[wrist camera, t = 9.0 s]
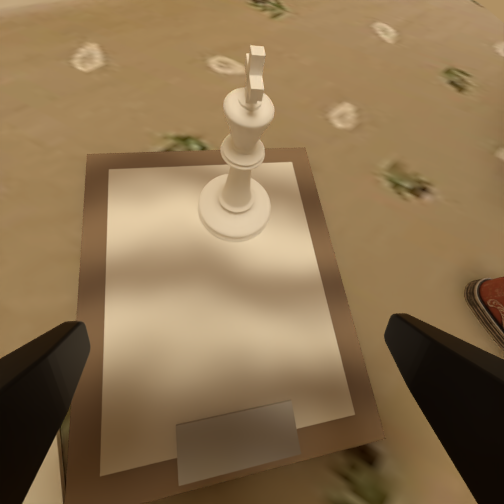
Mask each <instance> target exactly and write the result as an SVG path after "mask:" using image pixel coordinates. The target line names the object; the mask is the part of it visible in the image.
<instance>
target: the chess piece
mask: <svg viewBox="0 0 504 504" xmlns="http://www.w3.org/2000/svg"><path fill="white" fill-rule="evenodd" d="M264 61H265V50H264V46H252V45H250V52H249V53H246V59H245V72H246V86H245V87H244V88H238V89H235V90H233V91H232V92H230V93H229V94H228V95H227V96H226V98H225V100H224V104H223V109H224V114H225V118H226V121H227V123H228V125H229V128H230V133H231V134H229V135H227V136H226V137H225V139H224V140H223V142H222V145H221V149H220V151H221V156H222V158H223V159H224V161H225V162H226V163H227V164H228V165H230V170H229V174H224V175H221V176H218V177H216V178H214V179H212V180H211V181H210V182H208V183H207V184H206V185H205V187H204V188H203V190H202V192H201V194H200V197H199V202H198V214H199V217H200V220H201V222H202V224H203V225H204V227H205V228H206V229H207V230H208V231H209V232H210V233H211V234H213V235H214V236H216V237H218V238H220V239H222V240H225V241H230V242H241V241H246V240H250V239H252V238H254V237H256V236H257V235H259V234H260V233H261V232H262V231H263V230H264V229H265V227H266V225H267V224H268V221H269V218H270V211H271V204H270V199H269V196H268V194H267V192H266V190H265V189H264V188H263V187H262V186H261V185H260V184H259V183H258V182H257V181H256V180H254V179H252V178H251V169H254V168H256V167H258V166H259V165H260V164H261V163H262V162H263V160H264V157H265V150H264V145H263V143H262V141H261V140H260V137H261V135H262V134H263V132H264V131H265V130H266V129H267V128H268V126H269V125H270V123H271V121H272V119H273V117H274V105H273V103H272V101H271V100H270V98H269V97H268V96H267V95H266V94H264V85H263V79H262V73H263V67H264Z"/></svg>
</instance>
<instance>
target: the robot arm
mask: <svg viewBox="0 0 504 504" xmlns="http://www.w3.org/2000/svg"><path fill="white" fill-rule="evenodd" d="M384 339H385V342H386V344H387V346H388V348H389V350H390V352H391V354H392V356H393V358H394V360H395V362H396V364H397V367H398V369H399V371H400V373H401V375H402V377H403V379H404V381H405V383H406V385H407V387H408V388H409V390H410V392H411V394H412V395H413V397H414V399H415V400H416V402H417V404H418V405H419V407H420V409H421V410H422V412H423V414H424V415H425V417H426V419H427V420H428V422H429V424H430V425H431V427H432V429H433V430H434V432H435V434H436V435H437V437H438V439H439V440H440V442H441V444H442V445H443V447H444V449H445V450H446V452H447V454H448V455H449V457H450V459H451V460H452V462H453V463H454V465H455V467H456V468H457V470H458V472H459V473H460V475H461V477H462V478H463V480H464V482H465V483H466V485H467V487H468V488H469V490H470V492H471V493H472V495H473V497H474V498H475V500H476V502H477V503H478V504H504V360H503V359H501V358H499V357H497V356H495V355H493V354H490V353H488V352H486V351H484V350H482V349H480V348H478V347H476V346H474V345H472V344H469V343H467V342H465V341H463V340H461V339H459V338H457V337H455V336H453V335H451V334H448V333H446V332H444V331H442V330H440V329H438V328H436V327H434V326H432V325H430V324H427V323H425V322H423V321H421V320H419V319H417V318H415V317H413V316H411V315H409V314H405V313H399V314H393V315H392V316H391V317H390V319H389V322H388V325H387V328H386V330H385V333H384ZM90 348H91V345H90V340H89V336H88V332H87V328H86V325H85V323H84V322H82V321H67V322H64V323H62V324H60V325H59V326H57V327H55V328H53V329H52V330H50V331H48V332H46V333H44V334H43V335H41V336H39V337H37V338H36V339H34V340H32V341H30V342H29V343H27V344H25V345H23V346H22V347H20V348H18V349H16V350H15V351H13V352H11V353H9V354H8V355H6V356H4V357H2V358H1V359H0V504H23V502H24V500H25V497H26V495H27V493H28V491H29V489H30V487H31V485H32V483H33V481H34V479H35V477H36V475H37V473H38V471H39V469H40V467H41V465H42V463H43V461H44V459H45V457H46V455H47V453H48V451H49V449H50V447H51V445H52V443H53V441H54V439H55V437H56V435H57V432H58V430H59V428H60V426H61V424H62V422H63V420H64V418H65V416H66V414H67V412H68V409H69V407H70V404H71V402H72V399H73V396H74V394H75V391H76V388H77V386H78V383H79V380H80V378H81V375H82V372H83V370H84V367H85V364H86V362H87V359H88V356H89V353H90Z"/></svg>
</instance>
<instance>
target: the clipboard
mask: <svg viewBox="0 0 504 504" xmlns="http://www.w3.org/2000/svg"><path fill="white" fill-rule="evenodd" d="M264 150H265V157H264V160H263V162H262V163H261V164H260V165H259V166H258V167H256V168H254V169H251V178H252V179H254V180H256V181H257V182H258V183H259V184H260V185H261V186H262V187H263V188H264V189H265V190H266V192H267V194H268V196H269V199H270V204H271V211H270V218H269V221H268V224H267V225H266V227H265V229H264V230H263V231H262V232H261V233H260V234H259V235H257V236H256V237H254V238H252V239H250V240H246V241H241V242H230V241H225V240H222V239H220V238H218V237H216V236H214V235H213V234H211V233H210V232H209V231H208V230H207V229H206V228H205V227H204V225H203V224H202V222H201V220H200V217H199V214H198V202H199V197H200V194H201V192H202V190H203V188H204V187H205V185H206V184H207V183H208V182H210V181H211V180H212V179H214V178H216V177H218V176H221V175H224V174H229V170H230V165H228V164H227V163H226V162H225V161H224V159H223V158H222V156H221V151H220V150H207V151H173V152H140V153H107V154H87V163H86V178H85V194H84V210H83V226H82V241H81V257H80V273H79V289H78V304H77V320H76V321H82V322H84V323H85V325H86V328H87V332H88V336H89V340H90V345H91V348H90V353H89V356H88V359H87V362H86V364H85V367H84V370H83V372H82V375H81V378H80V380H79V383H78V386H77V388H76V391H75V394H74V396H73V399H72V402H71V415H70V430H69V446H68V462H67V478H66V493H65V504H143V503H147V502H151V501H154V500H158V499H162V498H166V497H169V496H173V495H177V494H181V493H184V492H188V491H192V490H196V489H199V488H203V487H207V486H211V485H214V484H218V483H222V482H226V481H229V480H233V479H237V478H241V477H244V476H248V475H252V474H256V473H259V472H263V471H267V470H270V469H274V468H278V467H282V466H285V465H289V464H293V463H297V462H300V461H304V460H308V459H312V458H315V457H319V456H323V455H327V454H330V453H334V452H338V451H342V450H345V449H349V448H353V447H357V446H360V445H364V444H368V443H372V442H375V441H379V440H383V439H386V438H385V435H384V431H383V428H382V424H381V420H380V417H379V413H378V410H377V406H376V402H375V399H374V395H373V391H372V388H371V384H370V381H369V377H368V373H367V370H366V366H365V362H364V359H363V355H362V352H361V348H360V344H359V341H358V337H357V334H356V330H355V326H354V323H353V319H352V315H351V312H350V308H349V305H348V301H347V297H346V294H345V290H344V286H343V283H342V279H341V276H340V272H339V268H338V265H337V261H336V258H335V254H334V250H333V247H332V243H331V239H330V236H329V232H328V229H327V225H326V221H325V218H324V214H323V210H322V207H321V203H320V200H319V196H318V192H317V189H316V185H315V182H314V178H313V174H312V171H311V167H310V163H309V160H308V156H307V153H306V149H305V148H274V149H264Z"/></svg>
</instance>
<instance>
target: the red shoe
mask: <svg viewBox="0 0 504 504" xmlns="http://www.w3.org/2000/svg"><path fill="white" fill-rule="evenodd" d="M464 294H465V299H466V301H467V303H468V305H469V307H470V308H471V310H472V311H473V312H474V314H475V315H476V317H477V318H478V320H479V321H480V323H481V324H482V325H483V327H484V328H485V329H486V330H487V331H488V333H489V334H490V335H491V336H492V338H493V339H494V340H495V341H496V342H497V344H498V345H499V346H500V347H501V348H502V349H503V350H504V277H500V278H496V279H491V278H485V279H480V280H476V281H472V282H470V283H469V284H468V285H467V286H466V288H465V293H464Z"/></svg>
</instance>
